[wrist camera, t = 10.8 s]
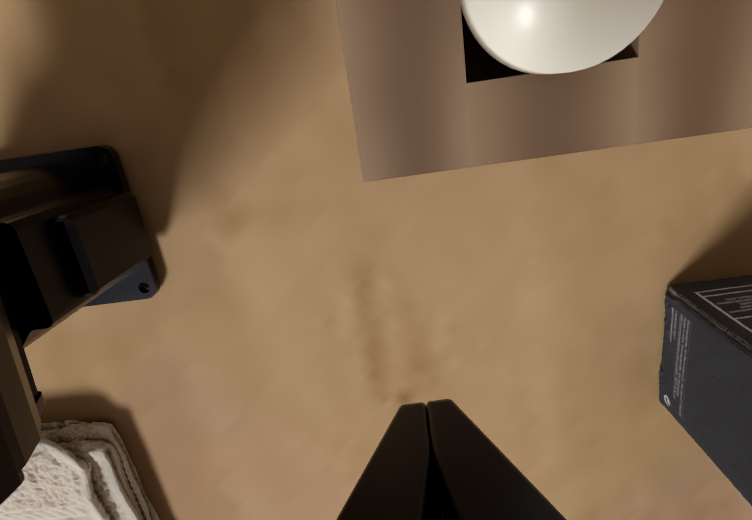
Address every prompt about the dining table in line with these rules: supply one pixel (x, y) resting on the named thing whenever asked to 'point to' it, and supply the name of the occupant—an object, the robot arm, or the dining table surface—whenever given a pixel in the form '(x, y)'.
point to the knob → (556, 31)
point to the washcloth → (79, 477)
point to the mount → (536, 88)
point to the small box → (712, 371)
